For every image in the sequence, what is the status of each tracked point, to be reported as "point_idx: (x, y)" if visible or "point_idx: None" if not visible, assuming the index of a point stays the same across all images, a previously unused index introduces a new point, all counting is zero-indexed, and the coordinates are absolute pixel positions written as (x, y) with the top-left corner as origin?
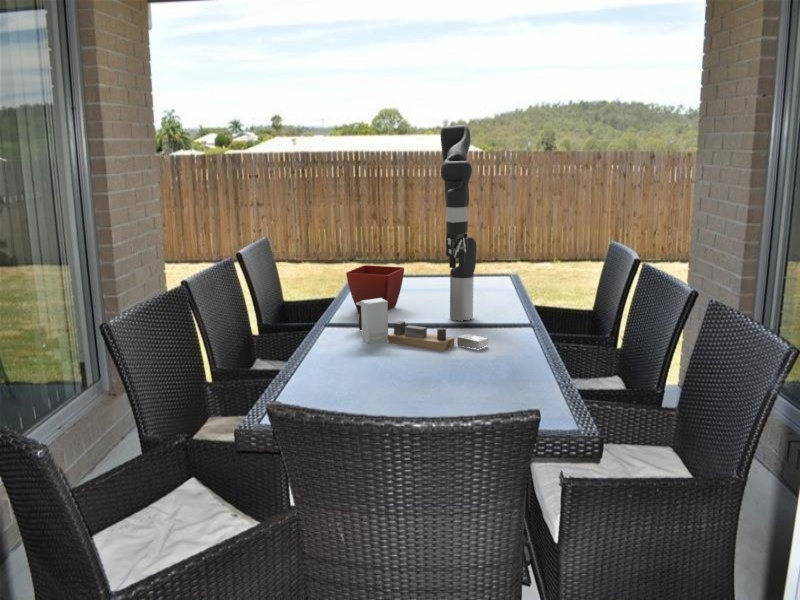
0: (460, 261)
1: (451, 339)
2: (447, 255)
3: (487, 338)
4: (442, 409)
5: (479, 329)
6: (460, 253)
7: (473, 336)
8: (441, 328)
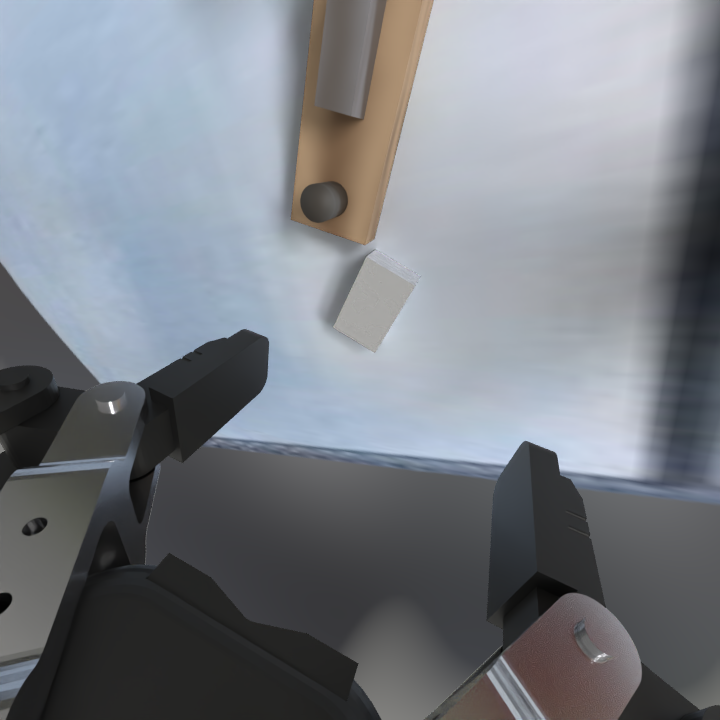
0: (518, 467)
1: (343, 237)
2: (21, 386)
3: (373, 351)
4: (22, 268)
5: (633, 314)
6: (516, 580)
7: (385, 310)
8: (328, 200)
